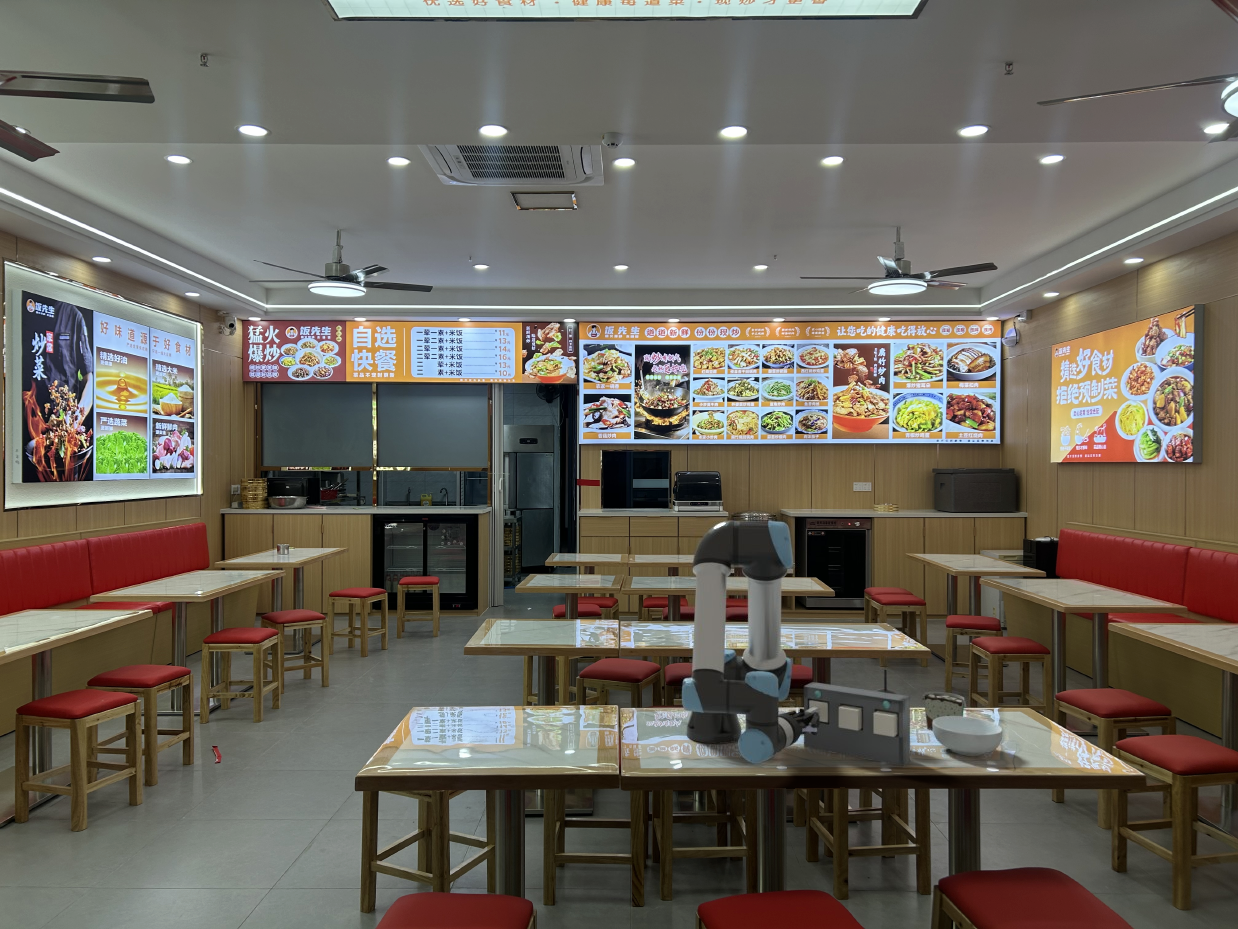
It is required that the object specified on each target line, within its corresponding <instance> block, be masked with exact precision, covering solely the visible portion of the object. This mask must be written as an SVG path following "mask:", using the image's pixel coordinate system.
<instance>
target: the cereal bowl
mask: <svg viewBox="0 0 1238 929" xmlns="http://www.w3.org/2000/svg"><path fill="white" fill-rule="evenodd" d="M932 724H933V725H932V727H933V730H932V733H933V735H934V737H935V739H936V740H937V741H938V743H939V744H941V746H943V747H946V748H947V749H950V751H951V752H953V753H955V754H958V755H961V756H969V757H978V756H982V755H983V754H987V753H990V752H993V751H995V750H996V749H998V748H999V746H1000V745H1001V743H1002V739H1003V728H1002V726H1000V725H998V724H997V723H995V722H992V721H989V720H985V719H981V718H976V717H971V716H964V715H963V716H945V717H939V718H936V719H934V720H933V723H932Z"/></svg>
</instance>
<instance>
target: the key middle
mask: <svg viewBox="0 0 1238 929" xmlns="http://www.w3.org/2000/svg"><path fill="white" fill-rule="evenodd" d="M839 727H840V728H846V729H852V730H857V731H858V730H860V729H861V728H863V707H857V706H851V705H845V704H844V705H842V706H841V707H839Z"/></svg>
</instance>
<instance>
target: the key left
mask: <svg viewBox="0 0 1238 929" xmlns="http://www.w3.org/2000/svg"><path fill="white" fill-rule="evenodd" d="M814 706H817V707H820V721H822V722H829V701H822V700H816V699H811V700H809V709H810V708H812V707H814Z"/></svg>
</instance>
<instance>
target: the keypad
mask: <svg viewBox="0 0 1238 929" xmlns="http://www.w3.org/2000/svg"><path fill="white" fill-rule="evenodd" d="M811 699H816V700H822V701H829V722H822V721H820V723H819V727H818V729H817V735H812V734H811V733H809V732H806V733H805V734H803V748H806V749H807V748H808V749H813V750H818V751H824V752H829V753H833V754H839V755H843V756H849V757H855V758H858V759H863V760H864V759H865V760H869V761H874V762H879V763H884V764H890V765H895V766H901V767H904V766H905V765H906V764H908V763H909V762H910V760H911V696H910V695H905V694H904V695H903V694H900V695H897V694H891V693H884V692H877V691H875V690H869V689H863V688H856V687H855V688H854V687H850V686H849V687H848V686H843V685H835V684H828V683H822V682H821V683H820V682H814V681H812V682H810V683H808V684H806V685H804V686H803V709H804V711H806V710H808V709H809V700H811ZM844 704H845V705H851V706H857V707H863V728H861V729H860V730H858V731H857V730H852V729H846V728H840V727H839V707H841V706H842V705H844ZM878 710H883V711H889V712H895V713H899V733H898V734H897V735H896V736H894V737H891V736H886V735H880V734H874V713H875V712H876V711H878Z"/></svg>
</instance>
